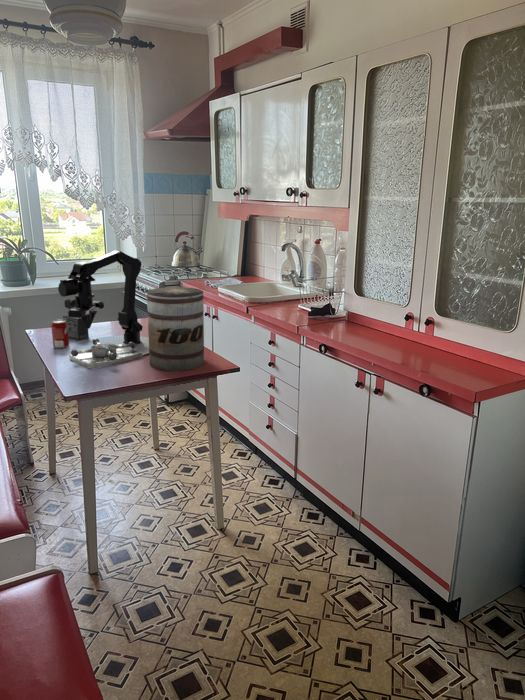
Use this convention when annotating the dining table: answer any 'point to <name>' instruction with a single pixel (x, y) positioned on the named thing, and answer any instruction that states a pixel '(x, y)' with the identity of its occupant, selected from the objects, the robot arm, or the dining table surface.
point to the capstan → (103, 349)
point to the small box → (76, 328)
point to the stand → (106, 358)
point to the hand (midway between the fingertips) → (88, 328)
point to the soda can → (60, 334)
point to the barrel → (175, 328)
